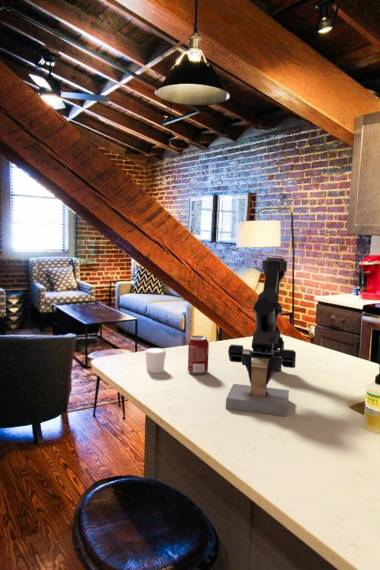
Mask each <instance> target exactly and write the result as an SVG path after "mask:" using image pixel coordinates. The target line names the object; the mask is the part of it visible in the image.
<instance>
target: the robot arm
mask: <svg viewBox="0 0 380 570" xmlns="http://www.w3.org/2000/svg"><path fill="white" fill-rule="evenodd" d="M261 262H262V263H261V270H262V271H263V274H264V282H263V288H262V289H263V290H262V291H261V292H260V293H258V296H257V301H255V303H254V305H253V308H252V309H253V310H252V311H253V313H254V320H255V330H254V331H253V332H252V341H251V349H252V350H251V349H247V348H244V345H242V344H232V343H231V344H230V345H229V346H228V350H227V354H228V358H229V361H230V362H233V363H241V364H242V366H245V368H246V370H247V374H248V378H249V383H250V384H251V373H252V366H251V365H252V360H253V358H259V359H269V361H268V373H267V377H266V385H267V386H268V385H269V383H270V381H271V379H272V377H273V376H274V374H275V373H276V372H279V371H282V368H289V369H290V368H291V369H294V368H296V361H297V359H296V357H297V352H296V351H295V350H294V349H285V341H284V340H283V337H282V335H281V334H282V333H281V331H280V328H279V326H278V325H277V324H278V316H279V315H281V313H282V312H283V306H282V304H281V303H280V298H279V297H280V286H281V285H280V284H281V283H282V281H283V280H284V278H285V277H286V272H287V271H288V261H286V260H285V258H284V257H266V259H262V261H261Z"/></svg>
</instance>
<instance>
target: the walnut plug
mask: <svg viewBox="0 0 380 570" xmlns="http://www.w3.org/2000/svg"><path fill="white" fill-rule="evenodd" d="M268 361H269V359H259V358H252V365H251V366H252V373H251V383H250V386H251V394H250V396H254V397H262V398H266V392H267V388H268V385H266V377H267V373H268Z"/></svg>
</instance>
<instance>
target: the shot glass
mask: <svg viewBox="0 0 380 570" xmlns="http://www.w3.org/2000/svg"><path fill="white" fill-rule="evenodd" d="M166 352H167V351H166V349H164V348H160V347H149V348H146V349H145V363H146V371H147V372H148V373H152V374H159V373H162V372H164V369H165V362H166V361H165V360H166Z"/></svg>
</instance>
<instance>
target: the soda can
mask: <svg viewBox="0 0 380 570" xmlns="http://www.w3.org/2000/svg"><path fill="white" fill-rule="evenodd" d="M209 345H210V342H209V340H208V337H207V336H205V335H192V336H190V339H189V341H188V350H187V351H188V352H187V353H188V354H187V355H188V356H187V371H188V372H189V373H190V374H193V375H199V376H200V375H204V374H206V373H207V372H208V371H209V348H210V346H209Z"/></svg>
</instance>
